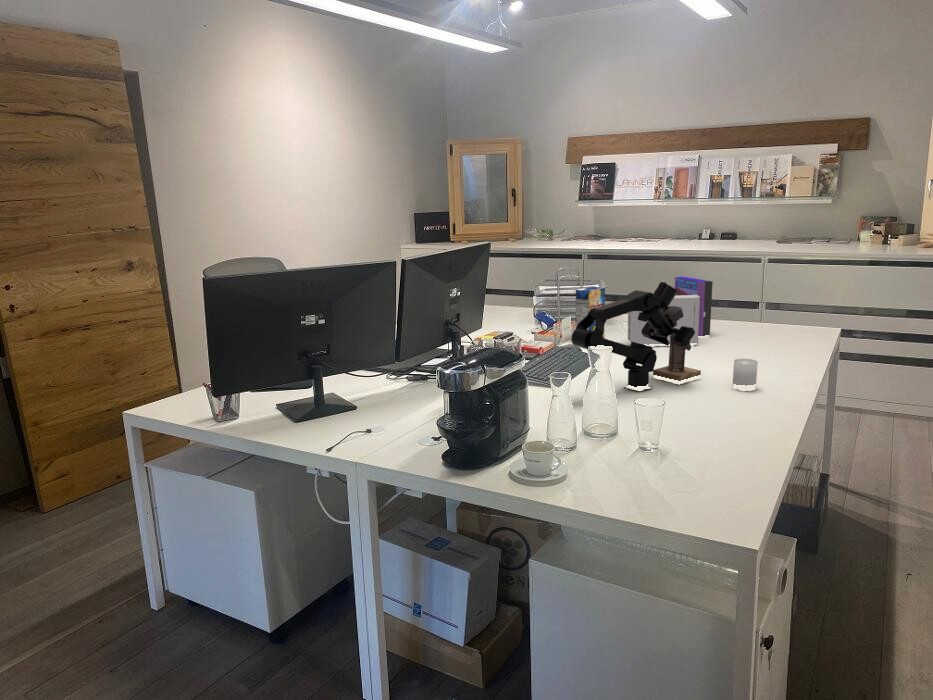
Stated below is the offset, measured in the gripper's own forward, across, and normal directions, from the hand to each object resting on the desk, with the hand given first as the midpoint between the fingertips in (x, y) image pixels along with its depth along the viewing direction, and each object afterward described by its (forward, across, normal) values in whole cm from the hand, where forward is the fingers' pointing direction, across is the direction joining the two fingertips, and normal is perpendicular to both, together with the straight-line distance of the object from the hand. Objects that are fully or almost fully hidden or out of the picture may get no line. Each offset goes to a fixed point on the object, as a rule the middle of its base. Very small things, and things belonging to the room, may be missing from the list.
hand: (679, 346), depth 237 cm
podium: (+7, 0, +8) cm, 11 cm away
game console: (+30, +36, -14) cm, 49 cm away
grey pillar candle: (+13, -21, +2) cm, 25 cm away
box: (+5, 0, +6) cm, 8 cm away
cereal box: (+47, +42, -31) cm, 70 cm away
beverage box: (+19, +61, -3) cm, 64 cm away
